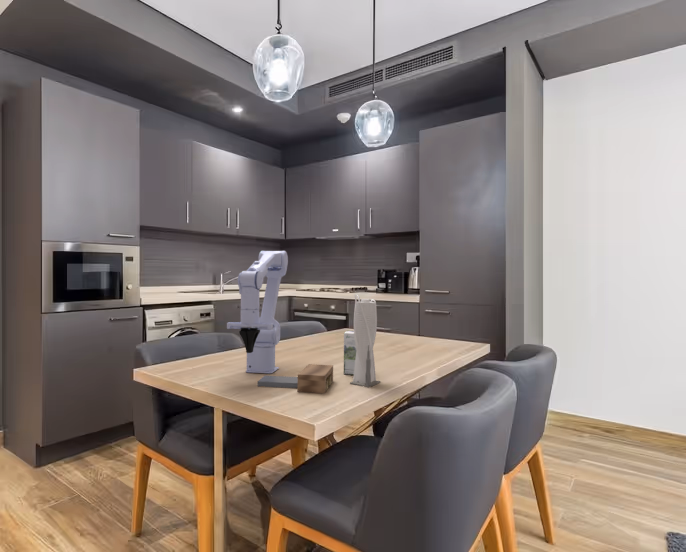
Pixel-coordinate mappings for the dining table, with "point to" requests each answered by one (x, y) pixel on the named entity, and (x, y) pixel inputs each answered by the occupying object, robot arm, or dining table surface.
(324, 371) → the walnut shelf bridge
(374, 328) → the skyscraper
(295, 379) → the slate tile
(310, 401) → the dining table surface
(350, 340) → the syrup box
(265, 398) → the dining table surface
